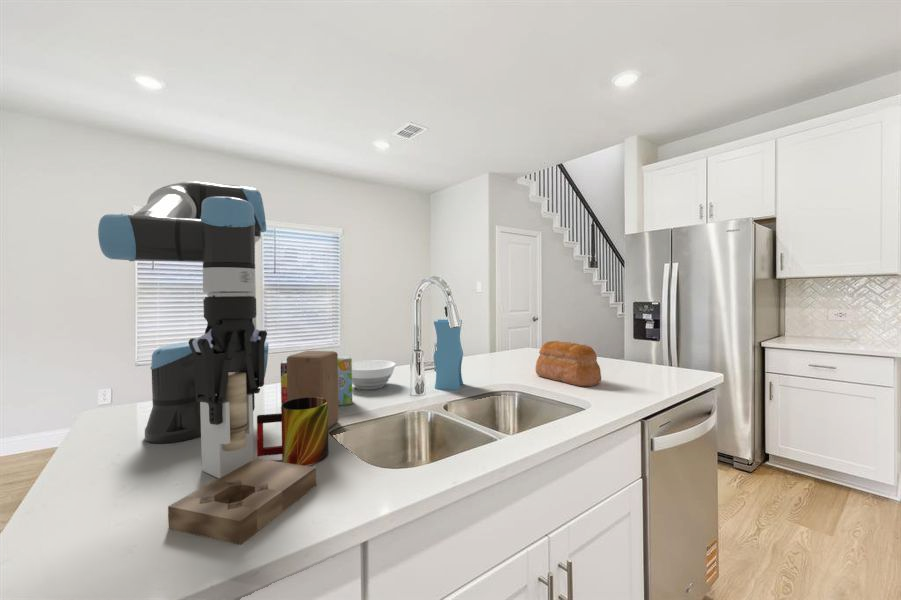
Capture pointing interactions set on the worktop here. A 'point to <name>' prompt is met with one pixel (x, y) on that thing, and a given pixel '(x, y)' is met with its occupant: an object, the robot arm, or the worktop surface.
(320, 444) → the mug
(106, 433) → the worktop surface
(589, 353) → the bread
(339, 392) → the snack box
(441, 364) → the vase
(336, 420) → the wooden block
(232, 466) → the milk carton
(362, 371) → the bowl
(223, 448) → the peg
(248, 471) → the board
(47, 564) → the worktop surface
